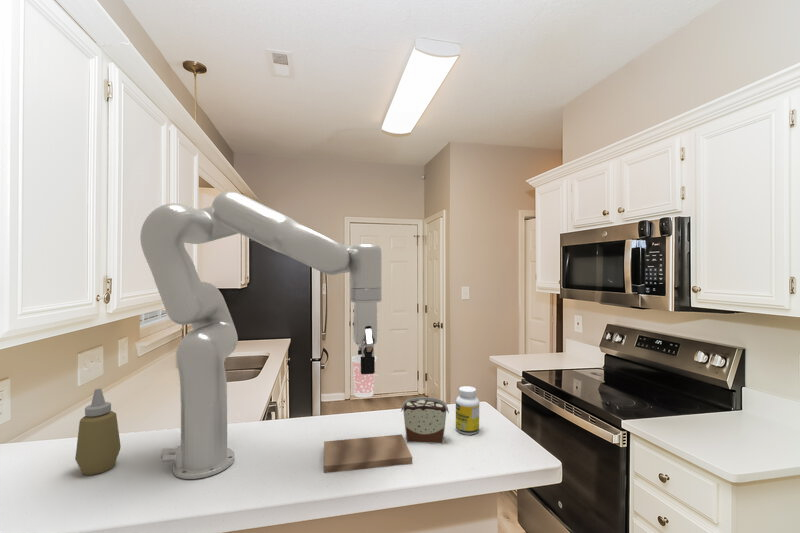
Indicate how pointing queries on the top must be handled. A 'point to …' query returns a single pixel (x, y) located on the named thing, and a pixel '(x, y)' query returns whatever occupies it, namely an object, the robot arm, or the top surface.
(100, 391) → the squeeze bottle
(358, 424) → the top surface
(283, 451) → the top surface
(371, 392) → the beverage cup
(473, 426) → the pill bottle
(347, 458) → the walnut board
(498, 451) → the top surface
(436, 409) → the food container
